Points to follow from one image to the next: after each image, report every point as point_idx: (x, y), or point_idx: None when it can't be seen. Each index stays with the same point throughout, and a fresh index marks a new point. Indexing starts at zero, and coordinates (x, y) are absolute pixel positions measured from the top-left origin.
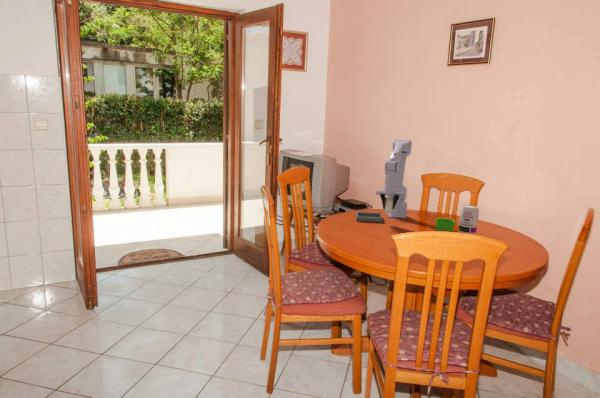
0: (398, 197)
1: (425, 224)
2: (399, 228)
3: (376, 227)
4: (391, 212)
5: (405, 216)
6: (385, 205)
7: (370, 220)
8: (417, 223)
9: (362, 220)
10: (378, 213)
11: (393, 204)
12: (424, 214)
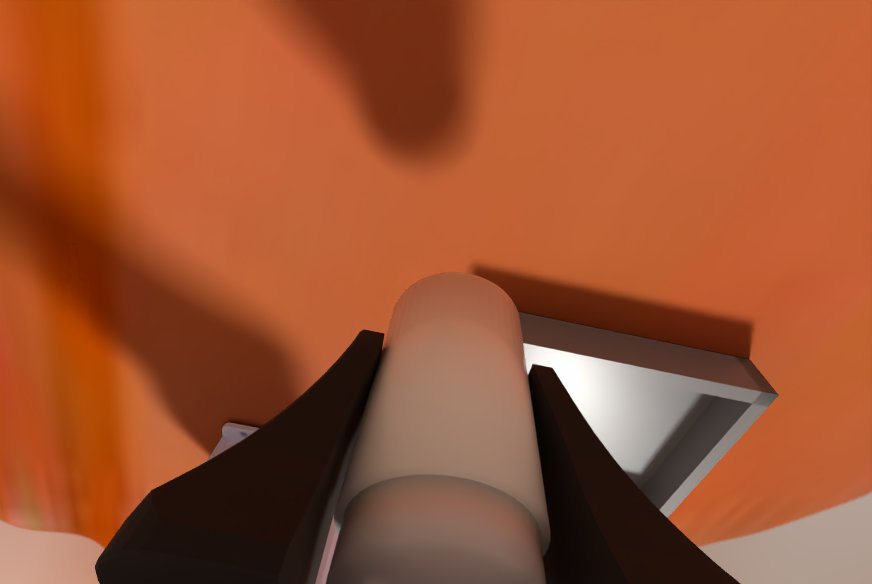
0: (137, 529)
1: (43, 240)
2: (361, 50)
3: (671, 99)
4: (418, 290)
5: (224, 440)
6: (530, 406)
7: (618, 342)
8: (126, 276)
9: (698, 356)
10: None
11: (357, 405)
12: (84, 493)
